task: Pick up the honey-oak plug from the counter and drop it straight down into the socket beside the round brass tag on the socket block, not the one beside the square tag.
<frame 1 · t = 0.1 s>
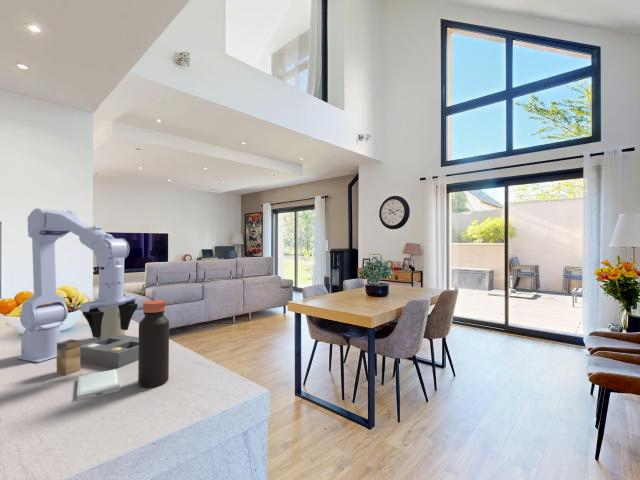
hand: (111, 333, 88), 10 cm above the kitchen island, tool pointing down, fingers open, 7 cm apart
bottle: (153, 382, 81), on the kitchen island
socket block: (118, 356, 98), on the kitchen island
travel mug: (112, 337, 117), on the kitchen island
hard drive: (98, 388, 79), on the kitchen island
plug: (68, 371, 87), on the kitchen island
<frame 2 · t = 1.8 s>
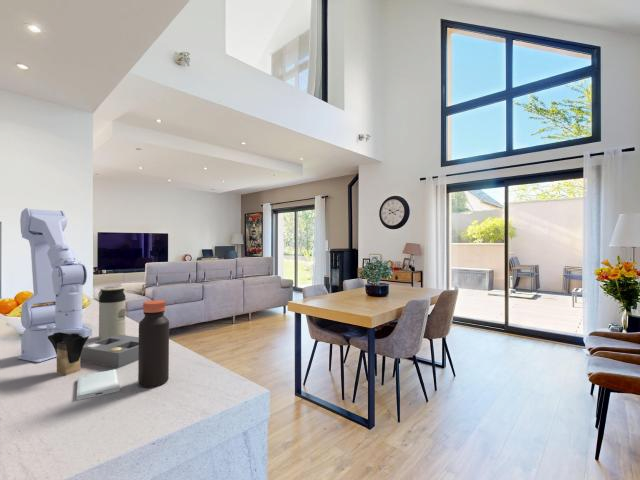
hand: (68, 360, 87), 3 cm above the kitchen island, tool pointing down, fingers closed on plug, 4 cm apart
plug: (68, 371, 87), on the kitchen island, touching gripper
everything else where it was.
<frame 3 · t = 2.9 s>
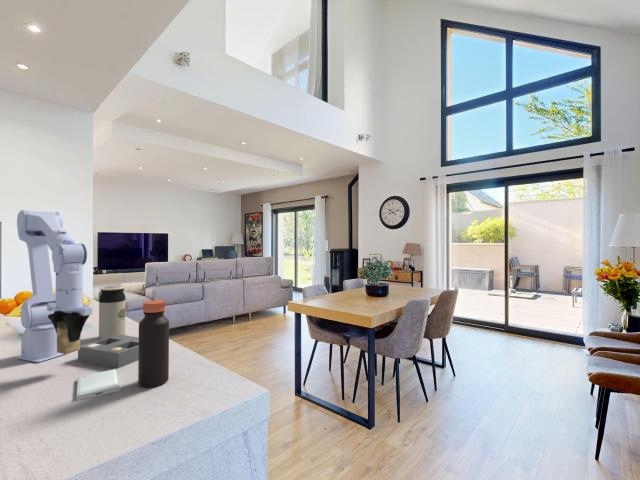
hand: (68, 339, 87), 8 cm above the kitchen island, tool pointing down, fingers closed on plug, 4 cm apart
plug: (68, 351, 87), point 5 cm above the kitchen island, touching gripper
everything else where it was.
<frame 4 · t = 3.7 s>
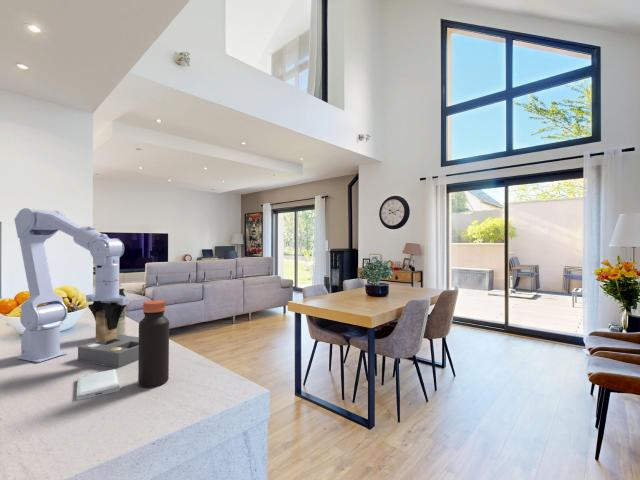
hand: (107, 328, 93), 10 cm above the kitchen island, tool pointing down, fingers closed on plug, 4 cm apart
plug: (106, 339, 92), point 7 cm above the kitchen island, touching gripper
everything else where it was.
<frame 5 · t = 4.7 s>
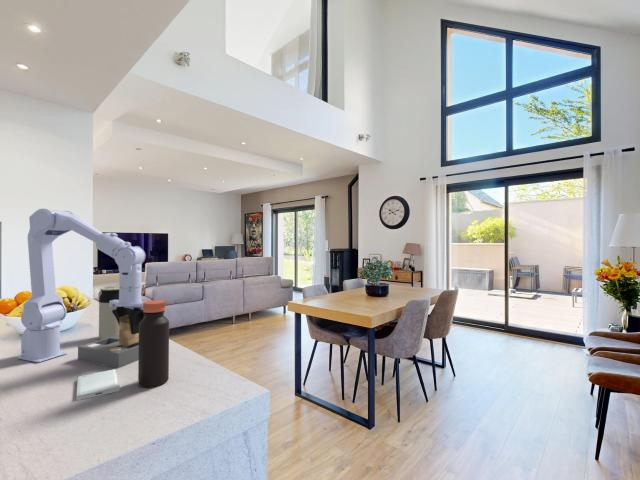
hand: (130, 332, 97), 8 cm above the kitchen island, tool pointing down, fingers closed on plug, 4 cm apart
plug: (129, 343, 97), point 5 cm above the kitchen island, touching gripper
everything else where it was.
when the fingers open (5 cm above the kitchen island, at t = 5.6 s): plug stays where it is, resting on socket block.
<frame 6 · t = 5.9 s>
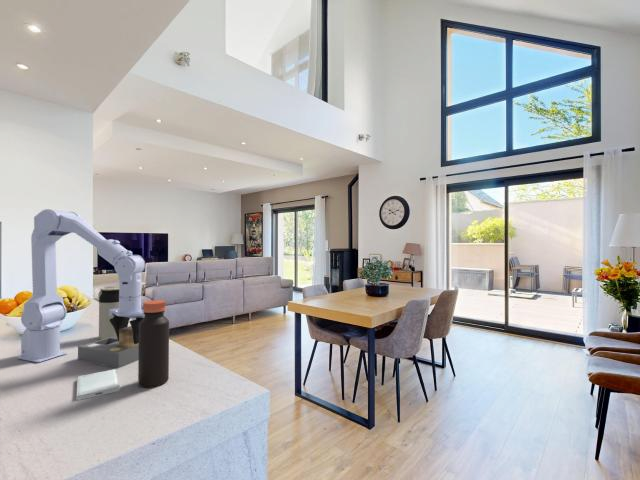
hand: (129, 341, 97), 5 cm above the kitchen island, tool pointing down, fingers open, 6 cm apart
plug: (129, 355, 97), point 1 cm above the kitchen island, touching socket block
everything else where it was.
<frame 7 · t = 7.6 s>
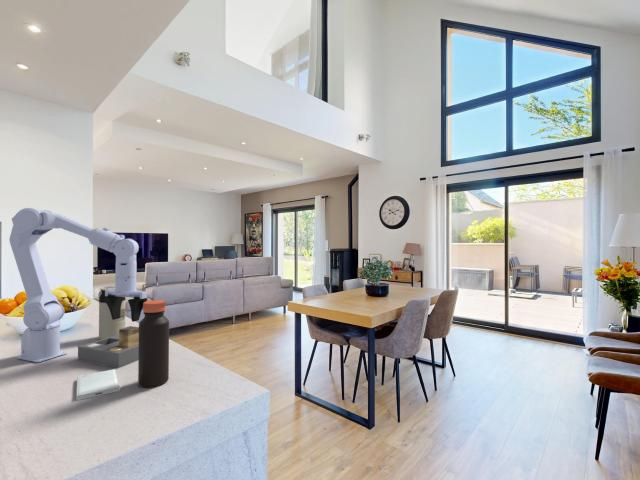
hand: (125, 319, 103), 10 cm above the kitchen island, tool pointing down, fingers open, 7 cm apart
nothing on the kitchen island moved.
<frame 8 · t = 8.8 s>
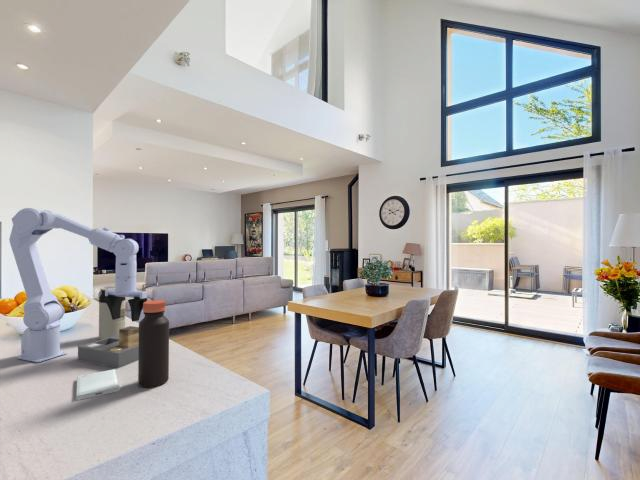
hand: (125, 319, 103), 10 cm above the kitchen island, tool pointing down, fingers open, 7 cm apart
nothing on the kitchen island moved.
at the end: plug 0.3 cm from the target spot on the socket block, point 1.0 cm above the socket block's base; plug tilted 0°; the gripper is holding nothing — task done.
